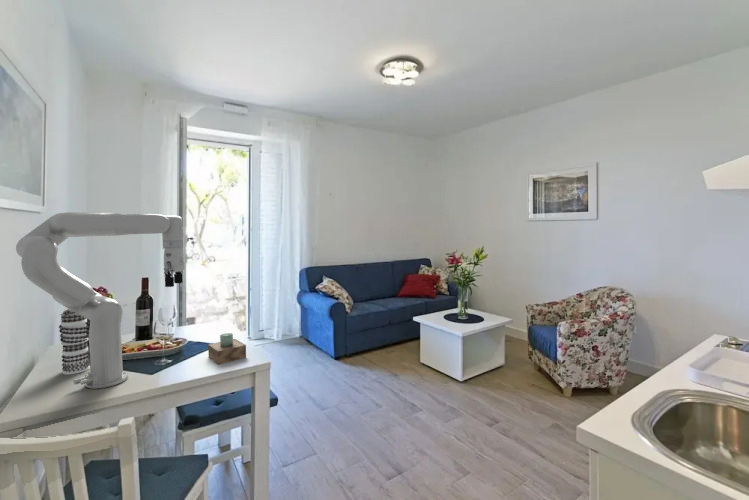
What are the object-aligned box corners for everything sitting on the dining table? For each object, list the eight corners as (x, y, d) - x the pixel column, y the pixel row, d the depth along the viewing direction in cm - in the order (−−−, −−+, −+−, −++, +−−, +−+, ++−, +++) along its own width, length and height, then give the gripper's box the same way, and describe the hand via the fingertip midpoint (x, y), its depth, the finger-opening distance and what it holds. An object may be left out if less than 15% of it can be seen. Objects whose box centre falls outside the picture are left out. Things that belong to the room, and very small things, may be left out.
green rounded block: (225, 347, 151) (224, 337, 151) (217, 345, 154) (217, 335, 153) (235, 344, 155) (235, 334, 155) (228, 342, 158) (228, 332, 158)
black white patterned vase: (74, 365, 145) (71, 306, 143) (96, 365, 145) (94, 306, 144) (54, 374, 136) (51, 311, 134) (78, 374, 136) (75, 311, 134)
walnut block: (218, 365, 147) (218, 351, 146) (208, 357, 155) (208, 344, 155) (246, 358, 155) (245, 344, 155) (235, 351, 164) (235, 338, 163)
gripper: (174, 245, 140) (176, 288, 141) (189, 244, 157) (190, 281, 158) (154, 246, 138) (155, 288, 139) (171, 244, 155) (172, 282, 156)
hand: (174, 284), depth 149 cm, fingers open, 9 cm apart
